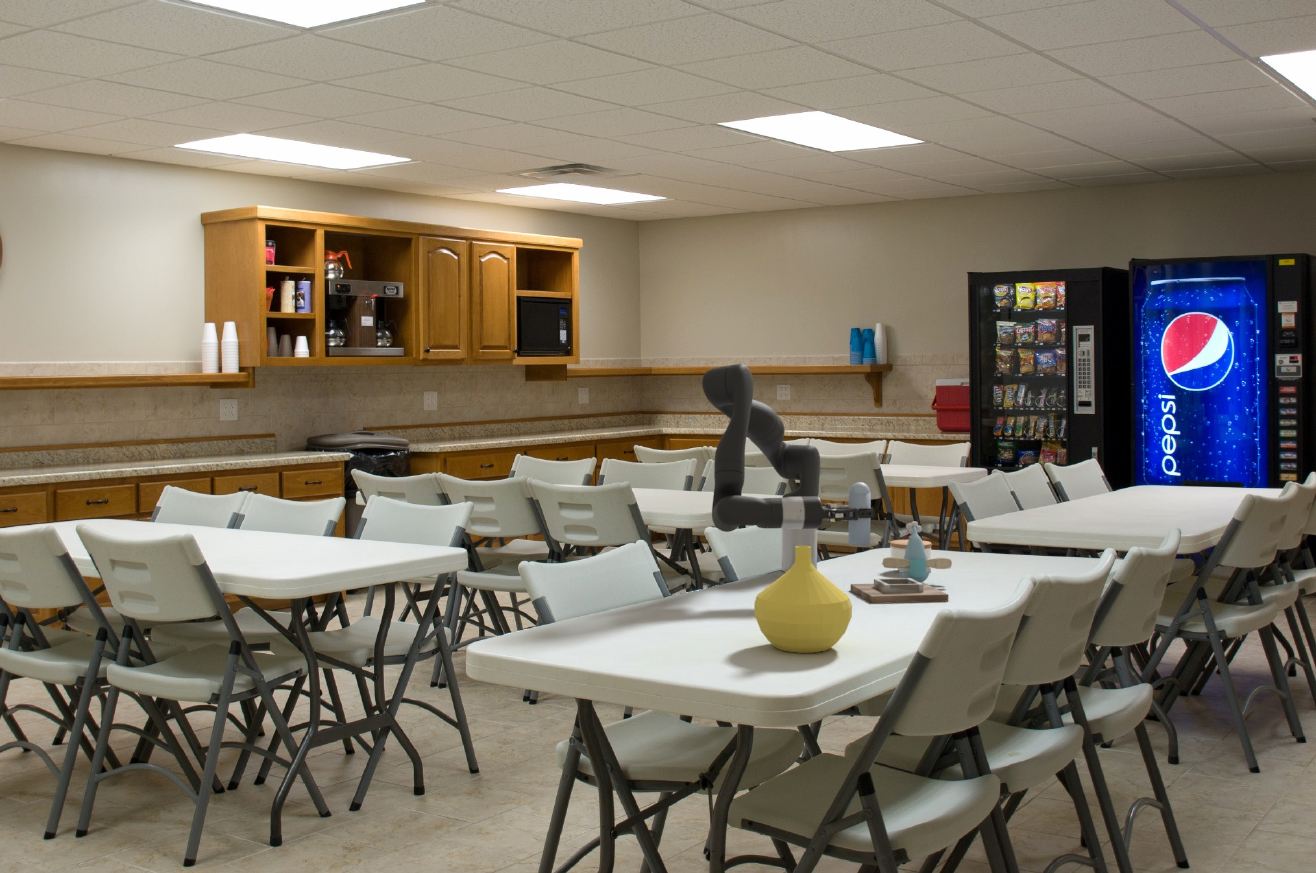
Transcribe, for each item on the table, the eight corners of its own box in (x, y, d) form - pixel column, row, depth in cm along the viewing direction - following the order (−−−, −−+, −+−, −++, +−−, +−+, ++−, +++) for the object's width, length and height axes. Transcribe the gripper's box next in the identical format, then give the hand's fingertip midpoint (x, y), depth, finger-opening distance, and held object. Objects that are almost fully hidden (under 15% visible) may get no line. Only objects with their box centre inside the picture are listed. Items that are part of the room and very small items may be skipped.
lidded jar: (900, 567, 335) (900, 532, 335) (937, 570, 329) (938, 535, 329) (882, 572, 327) (883, 536, 326) (921, 576, 320) (921, 539, 320)
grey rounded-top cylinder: (845, 542, 292) (846, 481, 291) (866, 542, 292) (867, 481, 292) (851, 545, 287) (852, 483, 286) (872, 545, 287) (873, 483, 287)
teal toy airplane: (946, 580, 314) (947, 520, 313) (952, 587, 303) (952, 525, 303) (879, 579, 316) (879, 520, 315) (882, 585, 305) (883, 525, 304)
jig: (850, 590, 299) (850, 576, 298) (922, 588, 301) (923, 575, 301) (871, 603, 282) (872, 588, 282) (948, 601, 284) (948, 586, 284)
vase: (855, 640, 242) (855, 542, 241) (847, 660, 224) (848, 555, 223) (761, 635, 246) (761, 539, 245) (747, 655, 228) (747, 551, 227)
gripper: (806, 499, 280) (880, 498, 282) (792, 493, 294) (862, 492, 296) (806, 532, 281) (879, 531, 283) (792, 525, 295) (862, 524, 297)
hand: (870, 511), depth 290 cm, fingers closed on grey rounded-top cylinder, 5 cm apart
